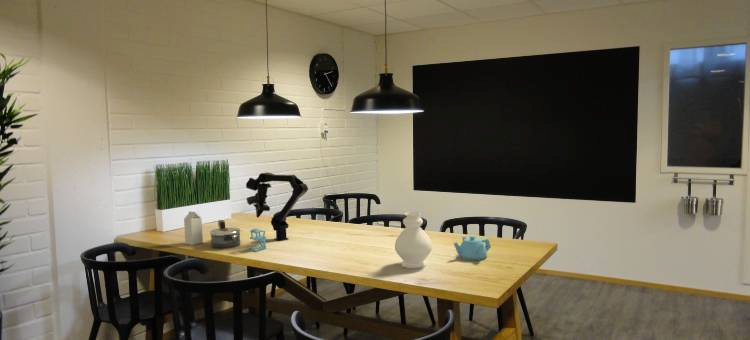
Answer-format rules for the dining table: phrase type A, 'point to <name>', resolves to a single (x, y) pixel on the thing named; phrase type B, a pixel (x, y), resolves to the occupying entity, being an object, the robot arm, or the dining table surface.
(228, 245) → the cooker pot
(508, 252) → the dining table surface
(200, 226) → the milk carton
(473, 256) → the teapot
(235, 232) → the cooker lid
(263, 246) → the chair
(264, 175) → the robot arm
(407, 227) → the decorative vase
